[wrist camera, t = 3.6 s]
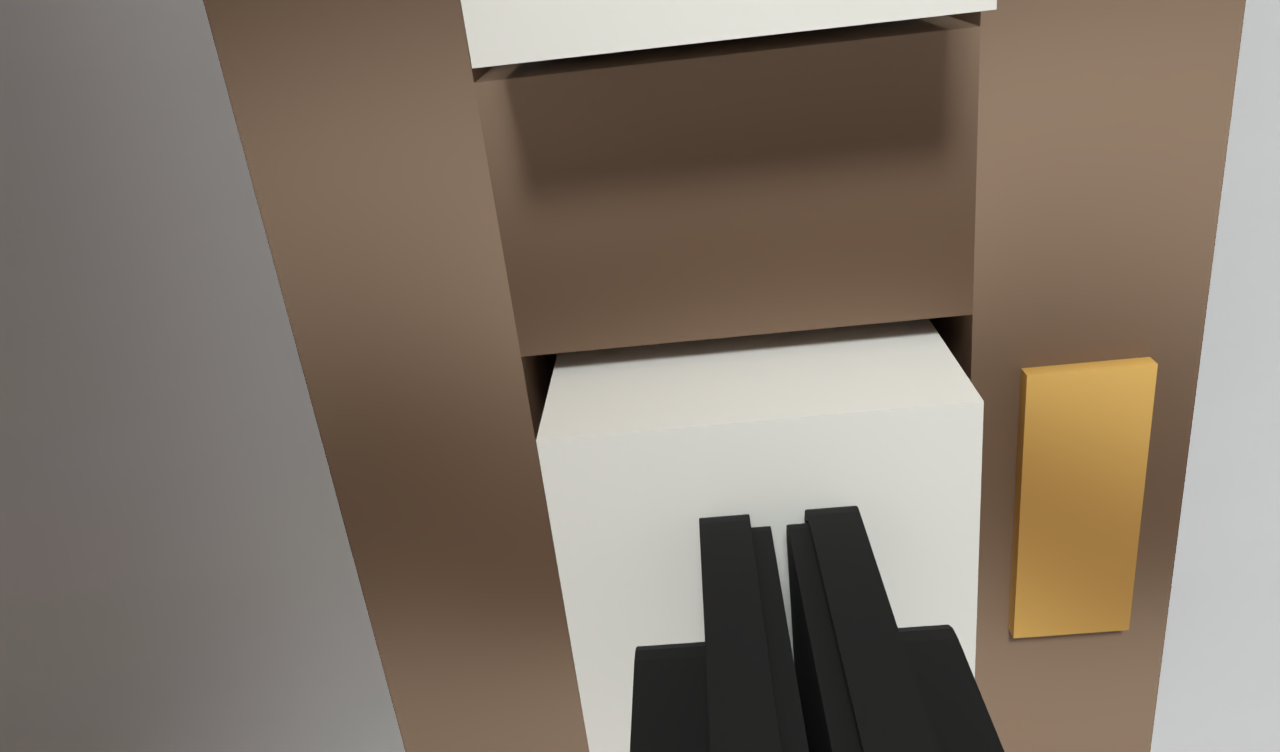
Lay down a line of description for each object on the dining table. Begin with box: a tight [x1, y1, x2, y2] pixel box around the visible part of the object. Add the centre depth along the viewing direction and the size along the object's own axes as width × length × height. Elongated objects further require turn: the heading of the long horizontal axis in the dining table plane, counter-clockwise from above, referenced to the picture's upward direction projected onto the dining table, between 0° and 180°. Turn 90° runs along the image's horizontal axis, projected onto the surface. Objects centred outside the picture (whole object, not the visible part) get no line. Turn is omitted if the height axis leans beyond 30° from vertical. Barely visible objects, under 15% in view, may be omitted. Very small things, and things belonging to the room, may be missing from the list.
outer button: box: [536, 319, 984, 752], centre depth 12 cm, size 4×4×2 cm
